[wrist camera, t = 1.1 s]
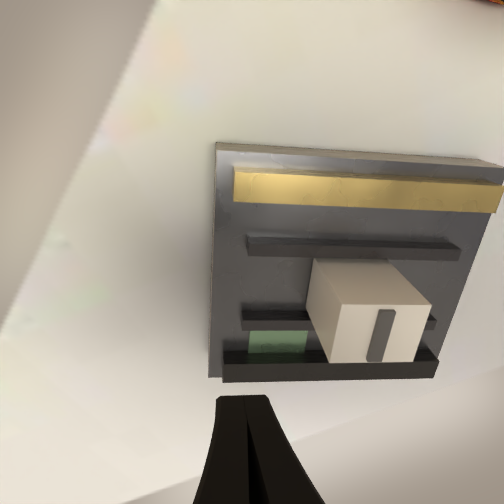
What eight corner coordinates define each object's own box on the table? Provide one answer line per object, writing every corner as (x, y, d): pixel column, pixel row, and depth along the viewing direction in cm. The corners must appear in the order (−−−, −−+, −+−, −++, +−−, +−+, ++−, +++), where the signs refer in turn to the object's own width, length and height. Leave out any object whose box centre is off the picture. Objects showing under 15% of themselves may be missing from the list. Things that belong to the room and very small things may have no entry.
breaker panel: (478, 159, 18) (525, 173, 16) (414, 350, 23) (441, 385, 21) (216, 142, 17) (217, 155, 14) (208, 352, 22) (208, 391, 19)
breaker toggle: (386, 258, 18) (434, 307, 14) (373, 307, 19) (415, 365, 15) (313, 257, 17) (343, 307, 13) (305, 307, 18) (330, 366, 15)
